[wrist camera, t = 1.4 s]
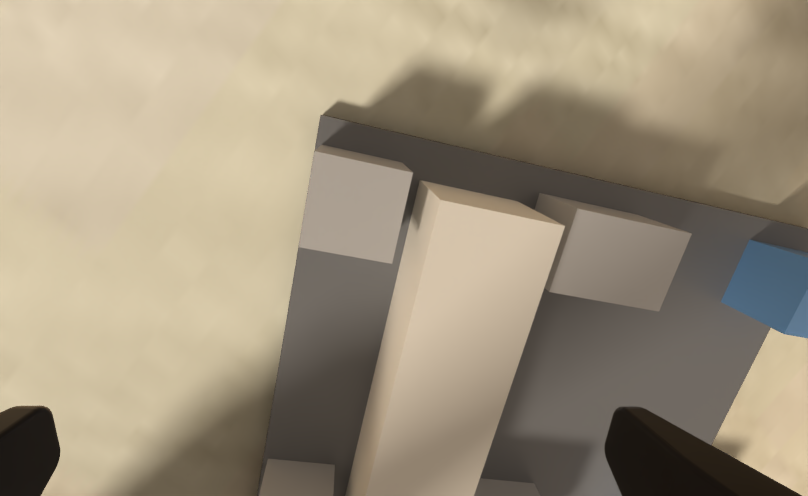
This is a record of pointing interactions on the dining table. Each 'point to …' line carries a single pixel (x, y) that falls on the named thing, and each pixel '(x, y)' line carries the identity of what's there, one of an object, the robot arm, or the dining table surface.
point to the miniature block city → (554, 320)
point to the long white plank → (451, 341)
